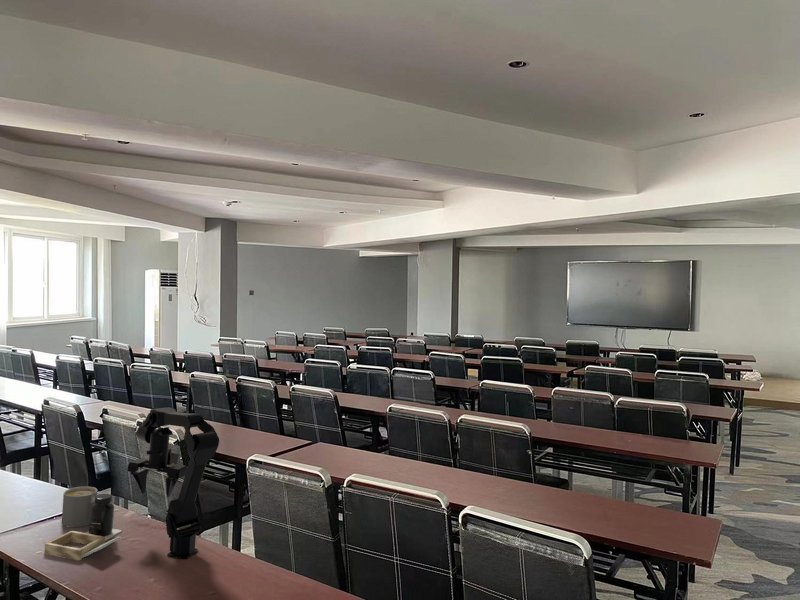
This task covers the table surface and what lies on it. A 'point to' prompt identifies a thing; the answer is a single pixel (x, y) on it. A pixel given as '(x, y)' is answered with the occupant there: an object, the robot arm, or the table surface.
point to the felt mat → (114, 532)
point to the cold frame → (58, 549)
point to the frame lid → (101, 546)
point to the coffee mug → (78, 506)
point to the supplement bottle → (101, 516)
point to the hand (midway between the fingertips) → (156, 494)
